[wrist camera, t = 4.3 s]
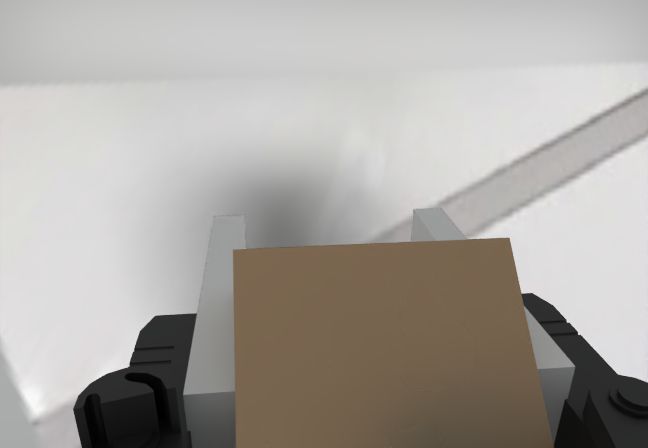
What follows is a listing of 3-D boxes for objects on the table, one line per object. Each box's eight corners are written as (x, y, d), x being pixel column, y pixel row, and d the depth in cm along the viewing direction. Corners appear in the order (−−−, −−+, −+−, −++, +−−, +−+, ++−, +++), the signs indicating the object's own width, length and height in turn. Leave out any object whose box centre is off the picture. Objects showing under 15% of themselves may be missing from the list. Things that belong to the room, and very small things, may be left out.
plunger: (378, 336, 24) (558, 174, 9) (396, 499, 22) (678, 642, 7) (231, 346, 24) (160, 186, 8) (234, 514, 21) (142, 715, 6)
